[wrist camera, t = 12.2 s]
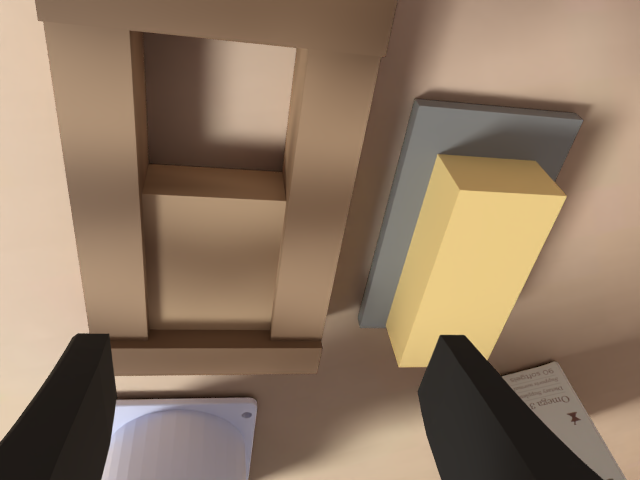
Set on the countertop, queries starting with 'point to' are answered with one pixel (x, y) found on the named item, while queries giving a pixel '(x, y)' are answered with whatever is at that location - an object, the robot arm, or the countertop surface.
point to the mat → (464, 140)
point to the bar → (470, 253)
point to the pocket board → (211, 185)
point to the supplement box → (564, 415)
